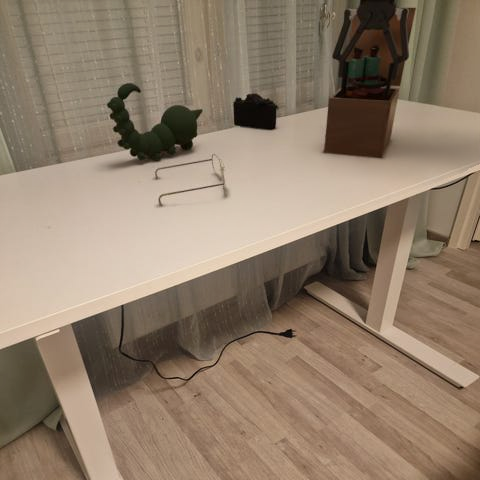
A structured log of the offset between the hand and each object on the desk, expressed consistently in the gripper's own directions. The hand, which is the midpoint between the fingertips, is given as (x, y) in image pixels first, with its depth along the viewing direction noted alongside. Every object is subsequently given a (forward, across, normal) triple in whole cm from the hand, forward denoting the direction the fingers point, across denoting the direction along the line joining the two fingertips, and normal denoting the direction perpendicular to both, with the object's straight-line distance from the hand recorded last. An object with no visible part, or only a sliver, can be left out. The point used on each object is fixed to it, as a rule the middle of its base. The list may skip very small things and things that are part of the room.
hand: (364, 93), depth 105 cm
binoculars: (+1, 0, 0) cm, 1 cm away
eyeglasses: (+13, +29, +39) cm, 51 cm away
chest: (+13, 0, -1) cm, 13 cm away
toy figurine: (+13, +46, +21) cm, 52 cm away
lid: (-8, 0, -11) cm, 14 cm away
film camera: (+13, +34, -14) cm, 39 cm away
